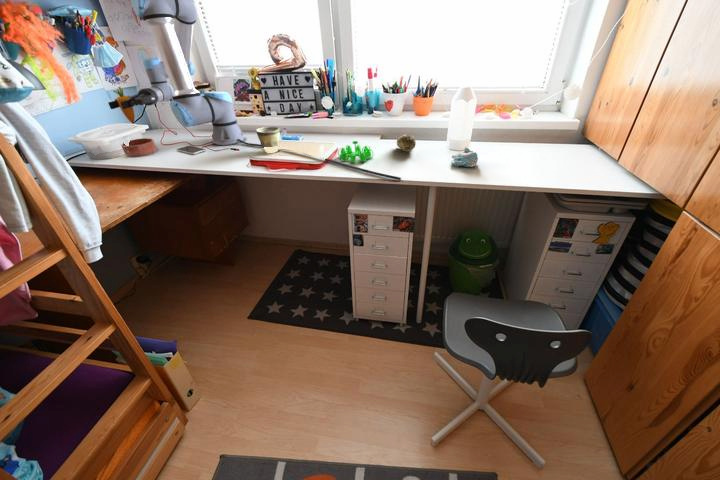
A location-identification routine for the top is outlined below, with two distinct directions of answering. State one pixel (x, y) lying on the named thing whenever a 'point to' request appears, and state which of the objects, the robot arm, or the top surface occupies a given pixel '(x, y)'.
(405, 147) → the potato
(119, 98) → the carrot
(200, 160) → the top surface
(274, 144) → the ceramic cup
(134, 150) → the bowl
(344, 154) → the chandelier
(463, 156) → the stuffed animal
